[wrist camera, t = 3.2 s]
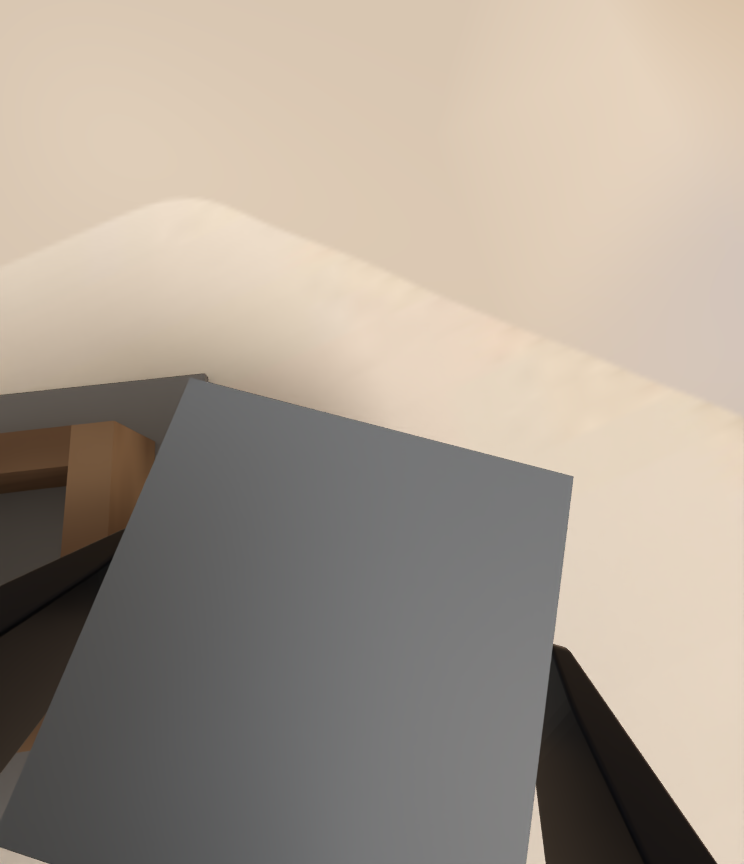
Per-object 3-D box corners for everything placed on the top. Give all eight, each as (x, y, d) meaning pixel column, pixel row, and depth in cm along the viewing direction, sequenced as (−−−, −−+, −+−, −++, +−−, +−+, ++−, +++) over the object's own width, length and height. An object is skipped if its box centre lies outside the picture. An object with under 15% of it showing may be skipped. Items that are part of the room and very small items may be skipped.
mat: (213, 785, 14) (209, 792, 14) (-204, 852, 14) (-220, 860, 13) (207, 377, 19) (204, 373, 18) (-108, 410, 18) (-118, 407, 18)
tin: (397, 660, 16) (507, 1014, 4) (270, 623, 16) (-10, 844, 4) (427, 527, 17) (573, 475, 5) (309, 496, 17) (189, 377, 5)
